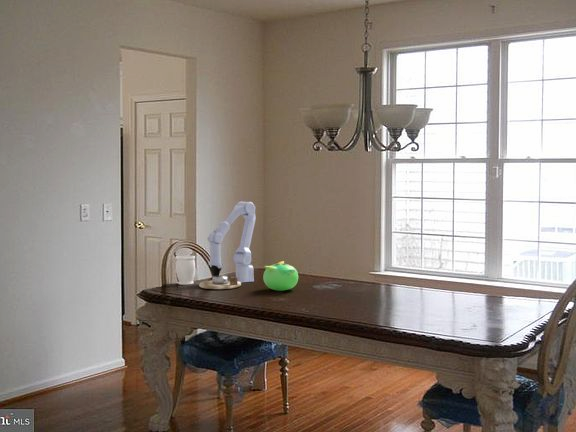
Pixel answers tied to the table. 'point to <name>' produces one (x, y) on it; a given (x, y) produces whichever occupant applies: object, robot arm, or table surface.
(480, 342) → the table surface
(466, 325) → the table surface
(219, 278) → the cover
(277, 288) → the green tomato
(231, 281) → the disc
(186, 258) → the jar
